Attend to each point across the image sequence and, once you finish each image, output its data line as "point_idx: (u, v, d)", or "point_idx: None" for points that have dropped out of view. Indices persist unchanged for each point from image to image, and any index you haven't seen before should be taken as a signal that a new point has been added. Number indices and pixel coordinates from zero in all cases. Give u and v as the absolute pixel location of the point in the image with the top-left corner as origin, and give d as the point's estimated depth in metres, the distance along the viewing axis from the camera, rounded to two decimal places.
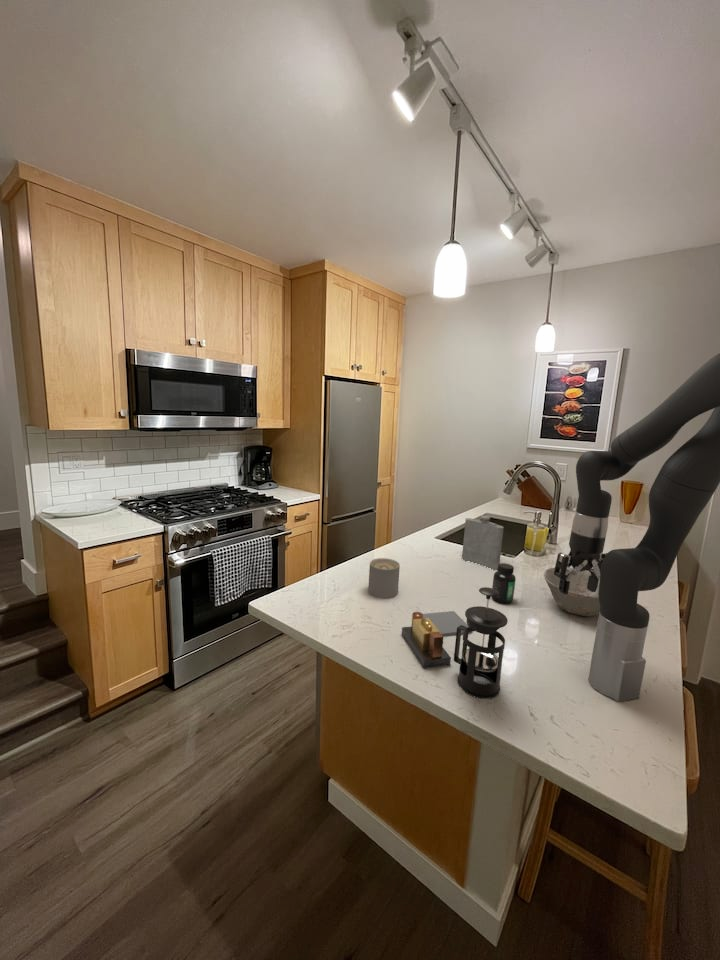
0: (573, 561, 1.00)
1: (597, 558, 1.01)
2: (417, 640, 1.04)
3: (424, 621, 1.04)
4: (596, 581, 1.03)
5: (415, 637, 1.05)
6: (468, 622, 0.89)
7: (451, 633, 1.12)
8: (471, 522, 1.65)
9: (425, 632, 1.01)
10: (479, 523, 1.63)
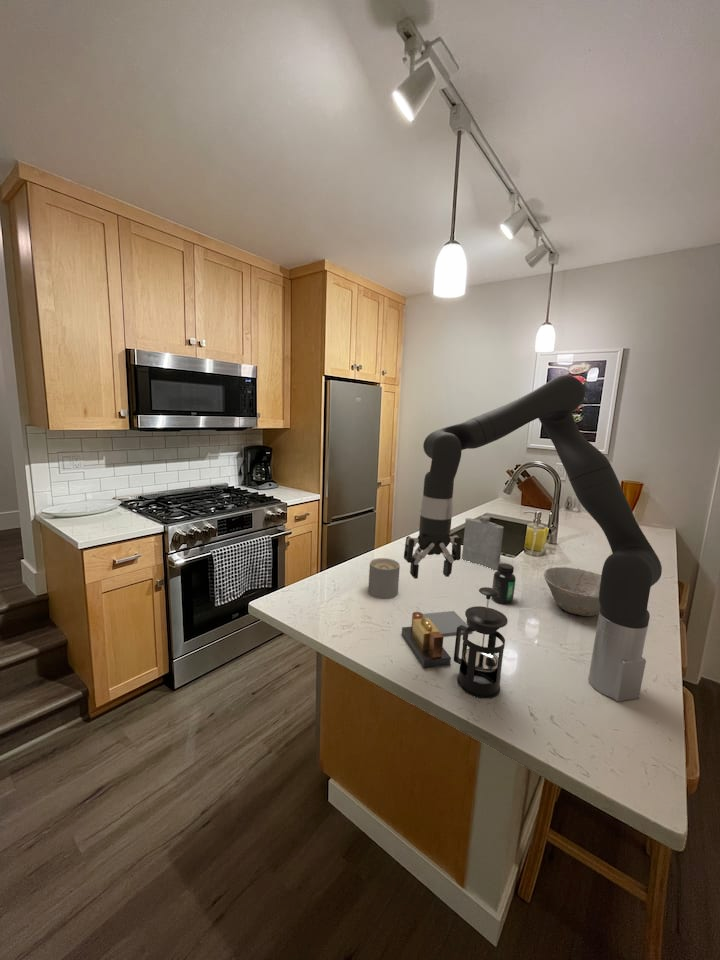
0: (420, 544, 0.99)
1: (447, 541, 1.00)
2: (417, 640, 1.04)
3: (424, 621, 1.04)
4: (448, 565, 1.01)
5: (415, 637, 1.05)
6: (468, 622, 0.89)
7: (451, 633, 1.12)
8: (471, 522, 1.65)
9: (425, 632, 1.01)
10: (479, 523, 1.63)
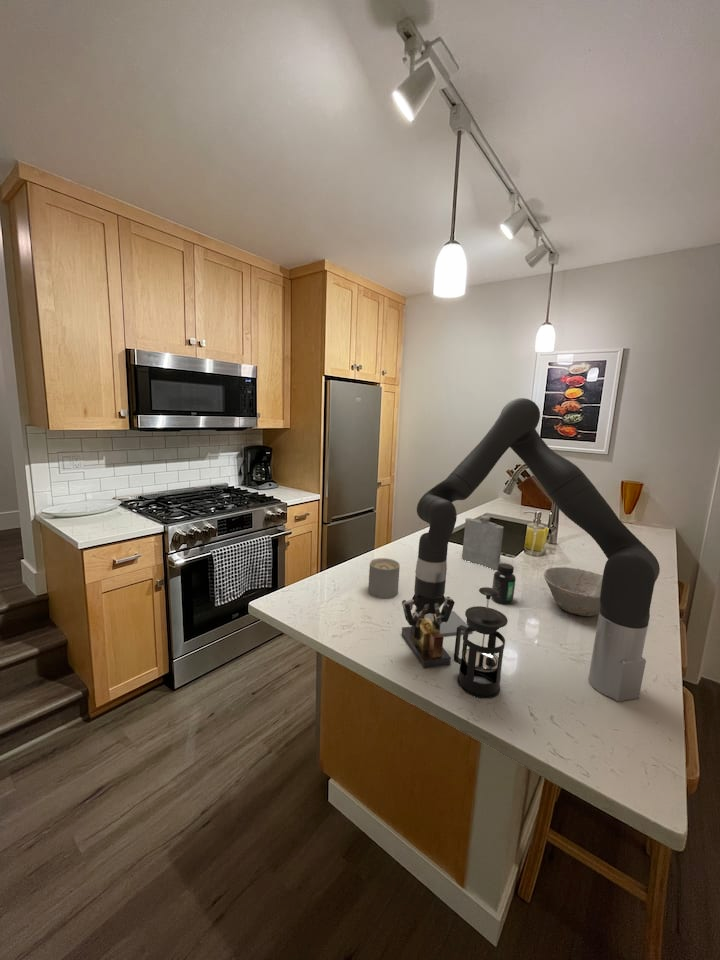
0: (416, 608, 1.01)
1: (441, 601, 1.03)
2: (417, 640, 1.04)
3: (424, 621, 1.04)
4: (436, 627, 1.04)
5: None
6: (468, 622, 0.89)
7: (451, 633, 1.12)
8: (471, 522, 1.65)
9: (425, 632, 1.01)
10: (479, 523, 1.63)
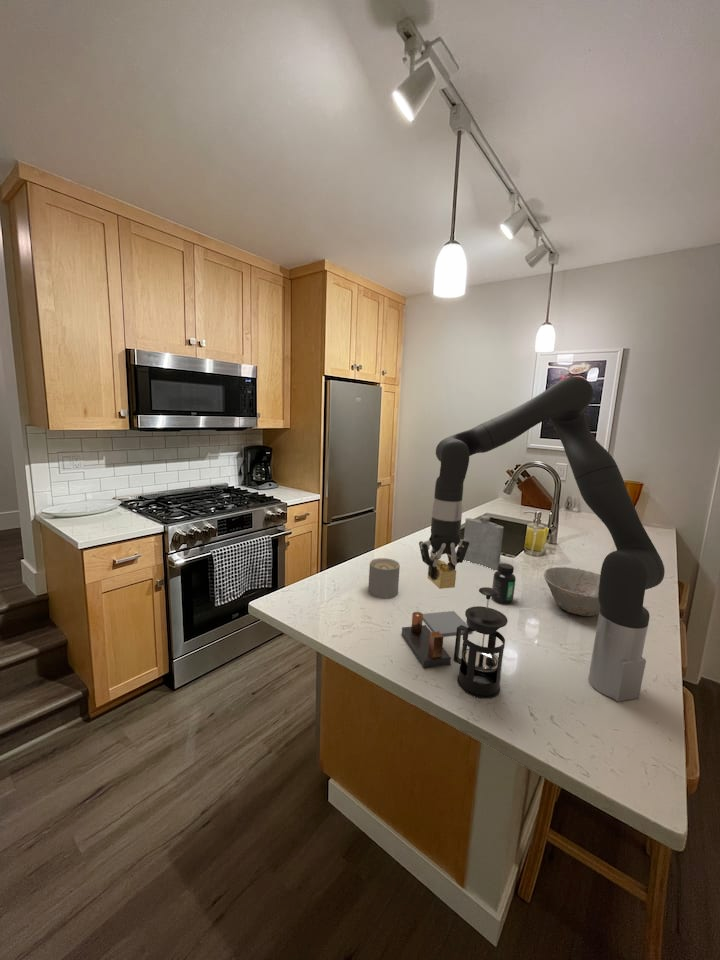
0: (433, 548, 1.05)
1: (457, 541, 1.06)
2: (433, 581, 1.07)
3: (440, 562, 1.08)
4: None
5: None
6: (468, 622, 0.89)
7: (451, 633, 1.12)
8: (471, 522, 1.65)
9: (442, 571, 1.04)
10: (479, 523, 1.63)
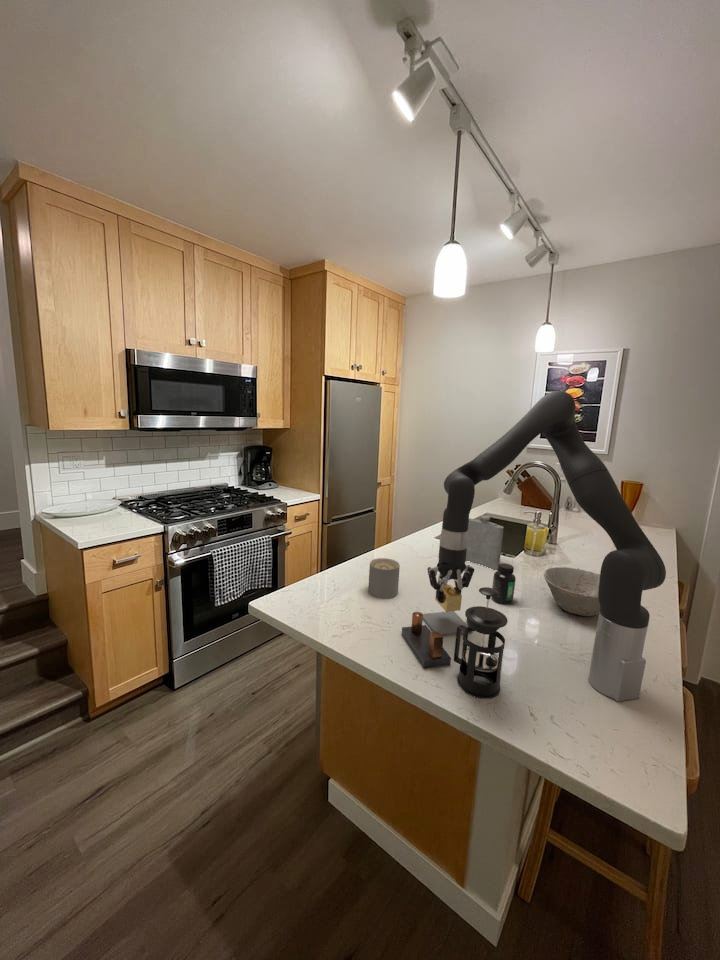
0: (440, 573, 1.13)
1: (463, 568, 1.14)
2: (440, 603, 1.16)
3: (447, 586, 1.16)
4: None
5: None
6: (468, 622, 0.89)
7: (451, 633, 1.12)
8: (471, 522, 1.65)
9: (448, 595, 1.13)
10: (479, 523, 1.63)
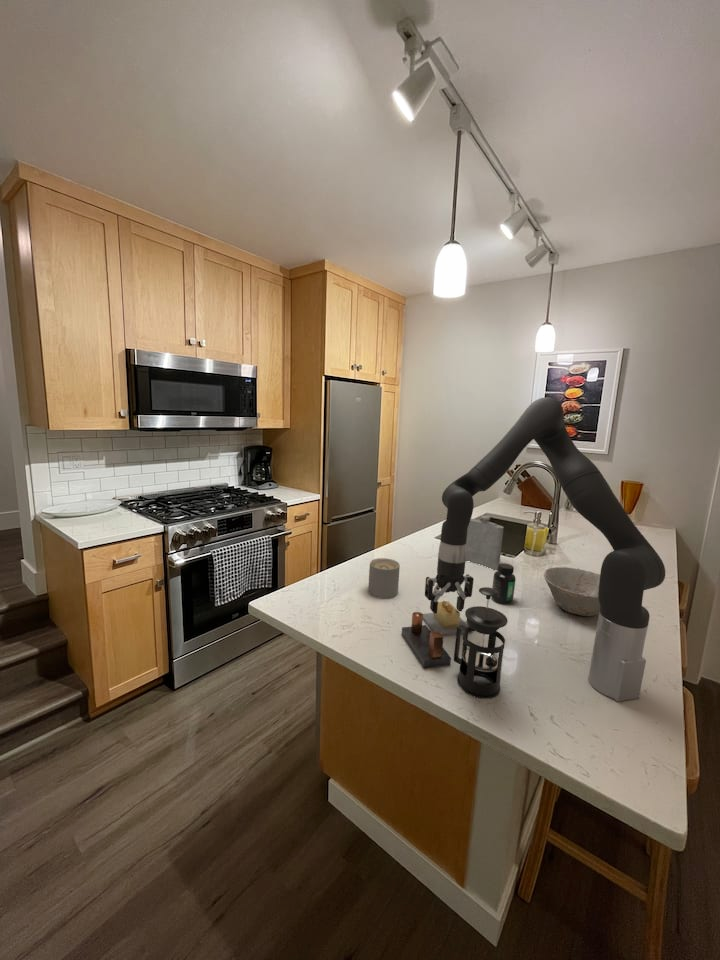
0: (438, 584, 1.14)
1: (461, 580, 1.15)
2: (439, 620, 1.17)
3: (445, 603, 1.17)
4: (461, 601, 1.16)
5: (437, 618, 1.18)
6: (468, 622, 0.89)
7: (451, 633, 1.12)
8: (471, 522, 1.65)
9: (446, 613, 1.13)
10: (479, 523, 1.63)
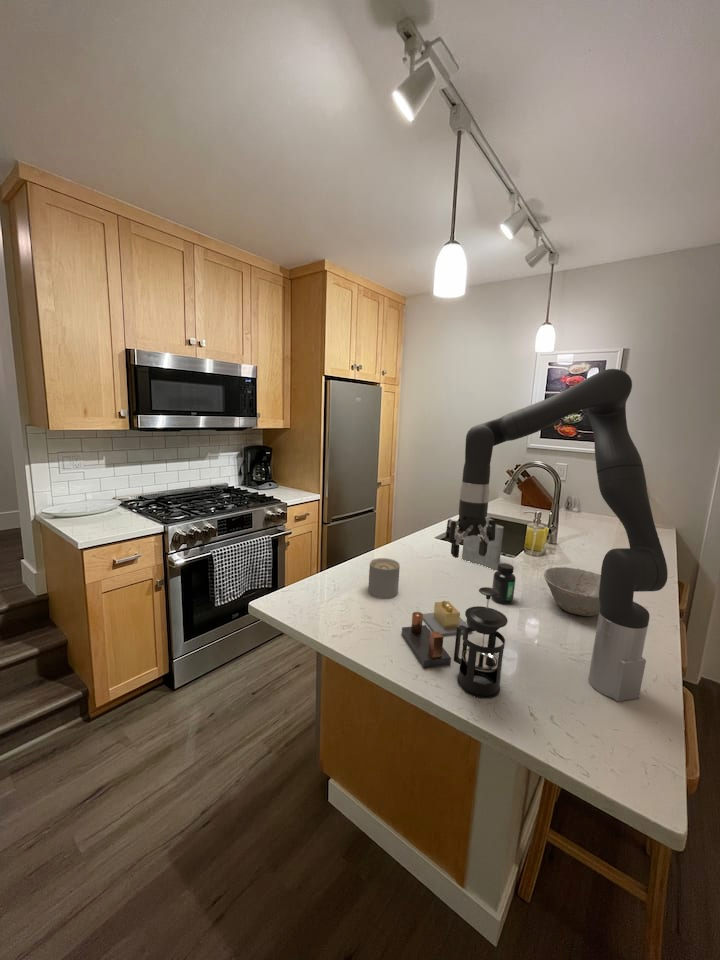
0: (461, 526, 1.10)
1: (483, 524, 1.12)
2: (439, 620, 1.17)
3: (445, 603, 1.17)
4: (485, 545, 1.13)
5: (437, 618, 1.18)
6: (468, 622, 0.89)
7: (451, 633, 1.12)
8: None
9: (446, 613, 1.13)
10: None
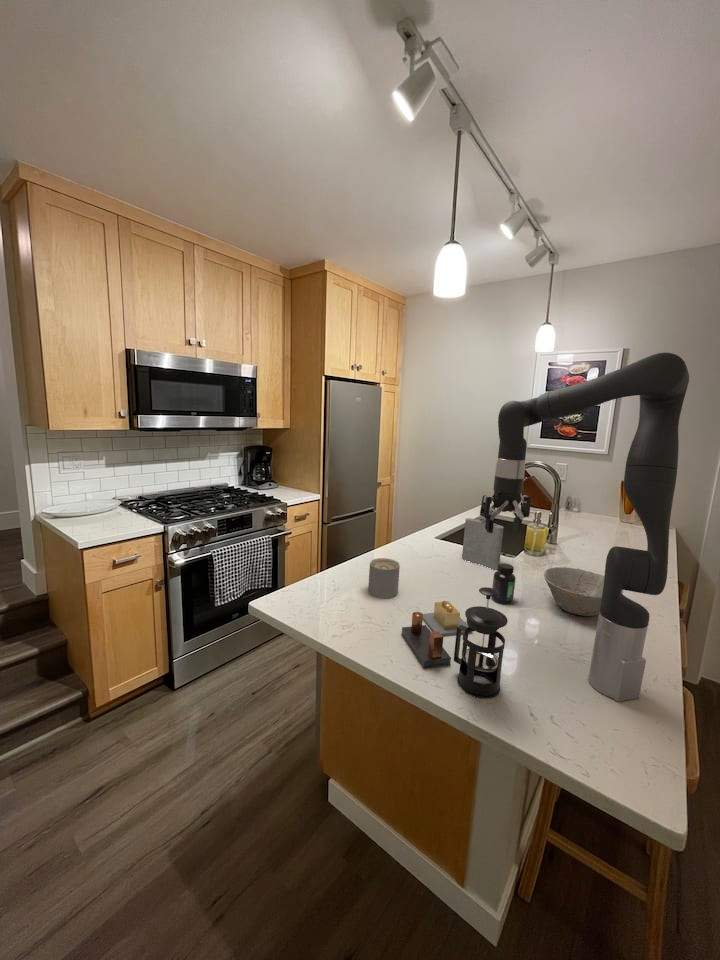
0: (496, 502, 1.11)
1: (518, 500, 1.12)
2: (439, 620, 1.17)
3: (445, 603, 1.17)
4: (519, 522, 1.14)
5: (437, 618, 1.18)
6: (468, 622, 0.89)
7: (451, 633, 1.12)
8: (471, 522, 1.65)
9: (446, 613, 1.13)
10: (479, 523, 1.63)
